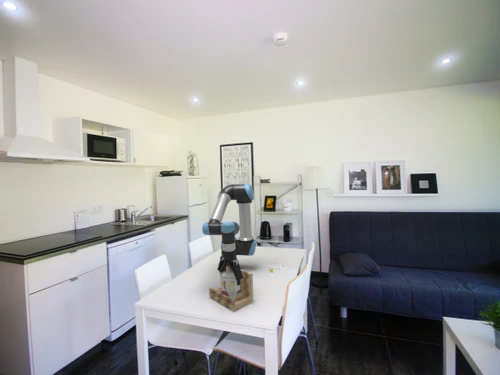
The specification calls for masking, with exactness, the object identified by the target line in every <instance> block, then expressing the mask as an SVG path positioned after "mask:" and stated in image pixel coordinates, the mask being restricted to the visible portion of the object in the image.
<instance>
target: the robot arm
mask: <svg viewBox="0 0 500 375" xmlns="http://www.w3.org/2000/svg"><path fill="white" fill-rule="evenodd" d="M254 200H255V192H254V188H253V186H252V184H250V183H240V184H237V183H235V184H228V185H226V186H224V187H223V188H222V189H221V190H220V191H219V193H218V195H217V201H216V202H215V205H214V208H213V211H212V213H211V216H210V218H209V221H206V222H204V223H203V225H202V228H201V230H202V234H204V235H205V236H221V242H220V250H221V253H220V254H221V256H220V257H219V262H218V266H217V269H216V270H217V271H218V272H219V277H220V280H219V281H220V284H221V285H222V275H223V273H224V272H226V266H228V267H230V269H232V271H233V273H234V275H235V278H236V279H235V291H236V292H237V291H239V290H240V279H242V278H243V276H242V272H241V267H240V262H239V260H238V258H237V256H243V257H244V256H247V257H249V256H250V257H251V256H255V253H256V248H257V240H256V239H254V236H253V234H252V214H251V204H252V203H253V201H254ZM231 201H236V202H235V203H236V204H237V205H238V218H239V221H238V222H237V221H226V222H222V221H223V218H224V216H225V213H226V209H227V207H228V205H229V204H230V202H231ZM237 234H239V236H238V238H237V237H236V235H237ZM240 276H241V277H240Z"/></svg>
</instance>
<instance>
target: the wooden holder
mask: <svg viewBox="0 0 500 375" xmlns="http://www.w3.org/2000/svg"><path fill="white" fill-rule="evenodd" d="M240 269H241V268H240ZM226 272H230V273H233V271H232V269H230V267H228V266H226ZM241 272H242V276H243V278H242V279H240V290H239V291H238V295H237V296H236V297H232V296H226V295H224V294H222V287H220V288H217V289H214V288H212V287H210V288H208V291H209V293H208V294H209V298H210V299H211V300H213V301H215V302H216V303H218V304H220V305H222V306H223V307H225V308H226V309H228V310H230V311H231V312H236V311H237V310H240V309H242V308H244V307H246V306H248V305H250V304H252V303H253V302H254V284H253V283H254V282H253V281H254V280H253V278H254V276H253V273H252V272H250V271H247V270H244V269H241ZM240 277H241V276H240Z"/></svg>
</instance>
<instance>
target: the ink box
mask: <svg viewBox="0 0 500 375" xmlns="http://www.w3.org/2000/svg"><path fill="white" fill-rule="evenodd" d="M223 272H224V271H223ZM235 279H236V278H235V275H234V273H230V272H224V273H223V275H222V284H221V288H222V294H224V295H226V296H232V297H236V296H237V295H238V291H237V292H236V291H235Z"/></svg>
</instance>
